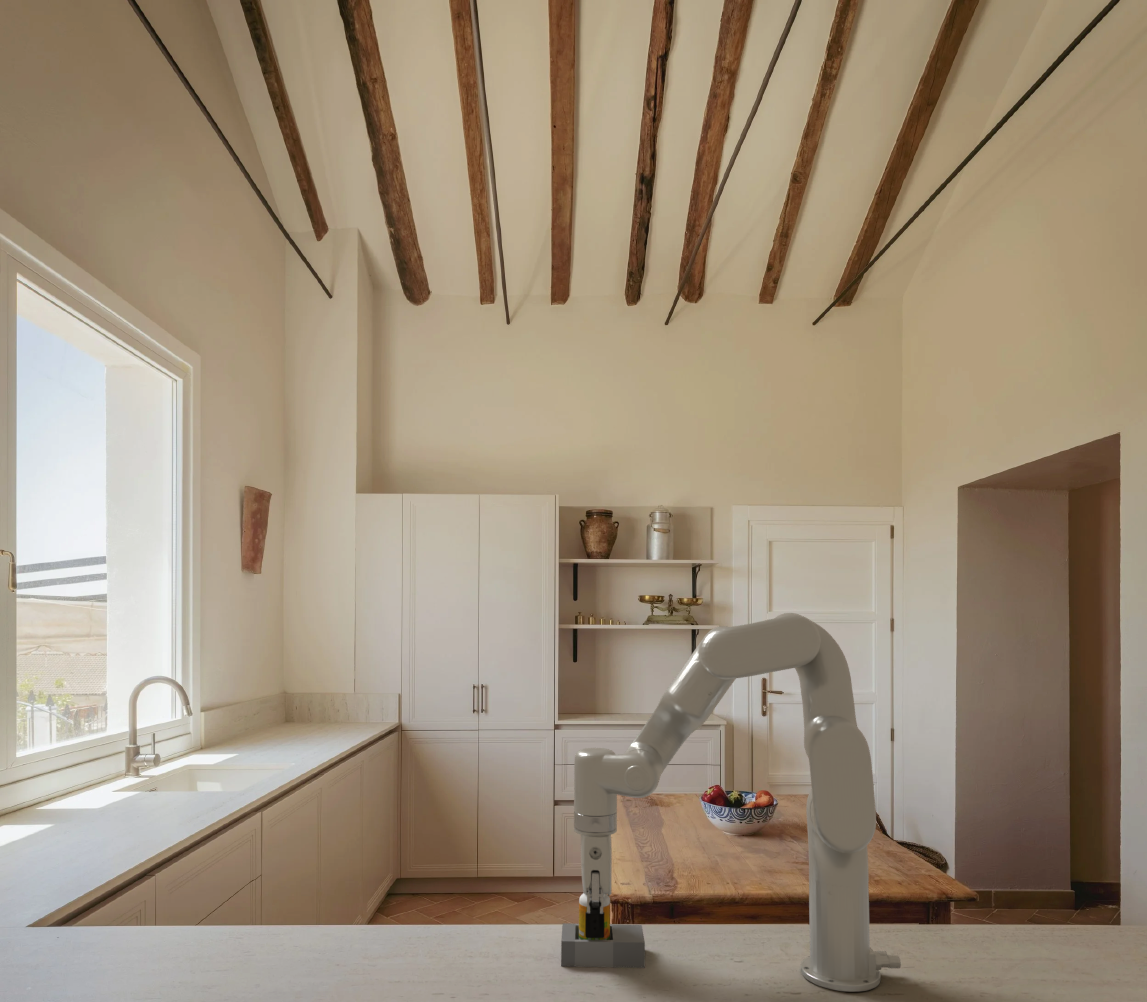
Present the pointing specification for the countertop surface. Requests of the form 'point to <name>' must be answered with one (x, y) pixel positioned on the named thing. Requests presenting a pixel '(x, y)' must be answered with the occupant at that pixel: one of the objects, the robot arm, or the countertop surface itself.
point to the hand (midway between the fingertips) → (594, 929)
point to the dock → (604, 948)
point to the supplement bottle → (584, 909)
